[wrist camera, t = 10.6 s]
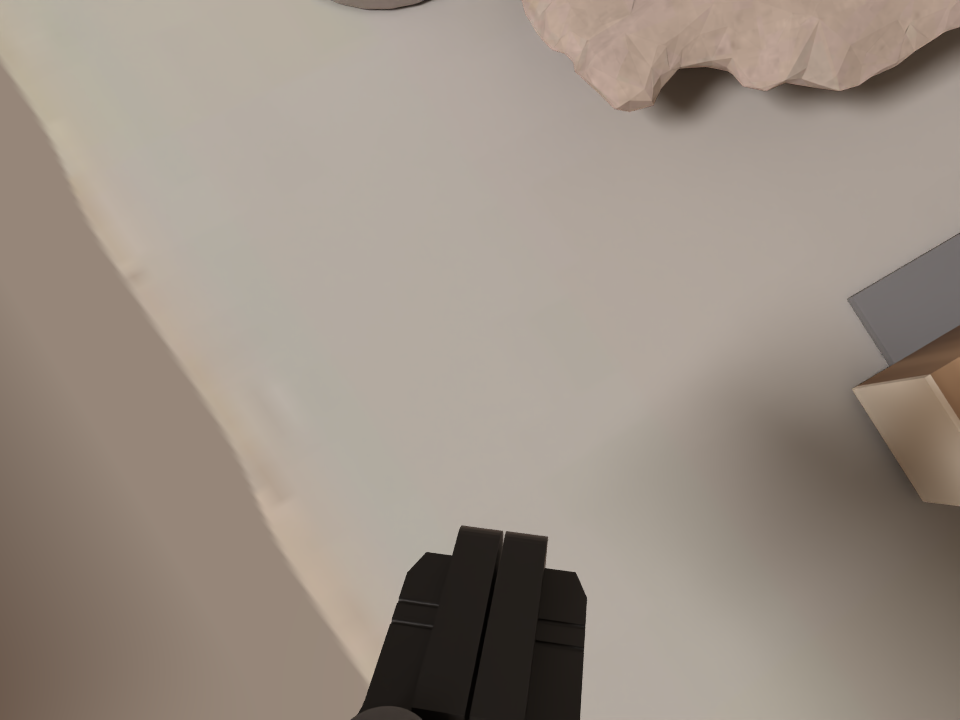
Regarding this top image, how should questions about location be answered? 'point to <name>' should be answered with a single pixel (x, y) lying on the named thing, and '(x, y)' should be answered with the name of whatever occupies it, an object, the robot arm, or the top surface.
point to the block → (921, 416)
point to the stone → (735, 40)
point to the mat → (913, 302)
